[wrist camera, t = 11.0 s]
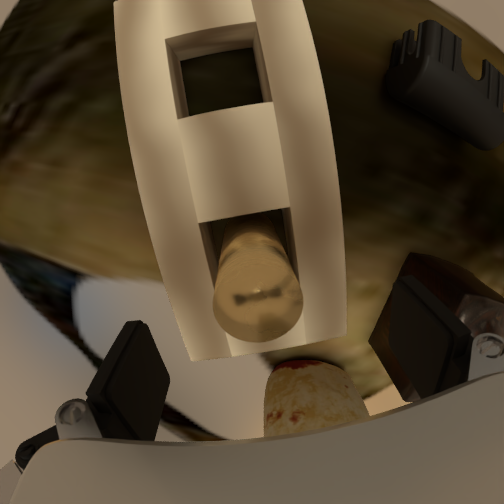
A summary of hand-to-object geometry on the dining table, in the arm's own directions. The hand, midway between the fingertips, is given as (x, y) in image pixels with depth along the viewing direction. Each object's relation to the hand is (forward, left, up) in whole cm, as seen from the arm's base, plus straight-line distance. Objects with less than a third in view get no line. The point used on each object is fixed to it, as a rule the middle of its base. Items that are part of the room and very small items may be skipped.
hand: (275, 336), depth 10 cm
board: (+1, -6, -14) cm, 15 cm away
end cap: (-17, -10, -14) cm, 25 cm away
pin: (0, 0, -14) cm, 14 cm away
